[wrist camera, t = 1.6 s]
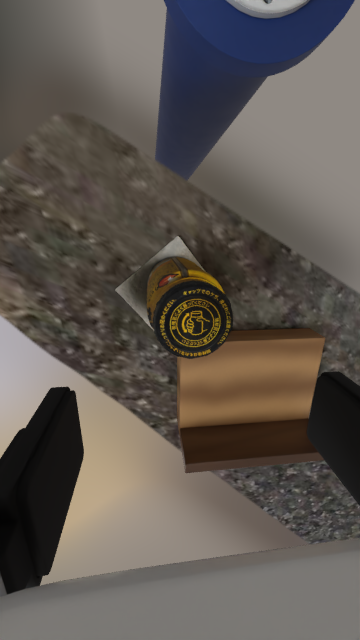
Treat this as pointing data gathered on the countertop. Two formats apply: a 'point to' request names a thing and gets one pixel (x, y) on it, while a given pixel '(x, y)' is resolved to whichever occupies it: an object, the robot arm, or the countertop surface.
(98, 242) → the countertop surface
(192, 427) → the shelf
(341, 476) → the robot arm
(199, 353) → the condiment
